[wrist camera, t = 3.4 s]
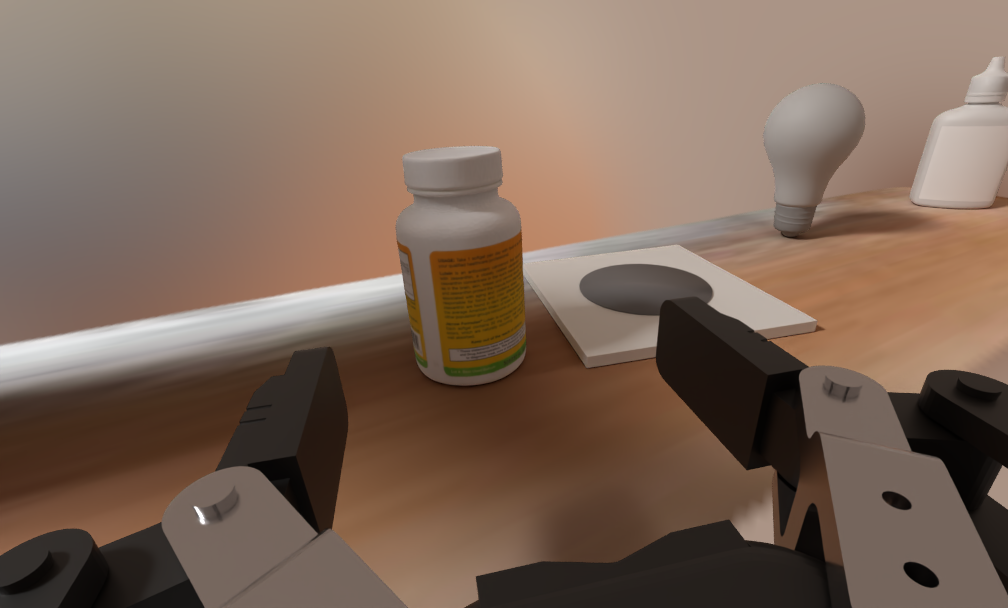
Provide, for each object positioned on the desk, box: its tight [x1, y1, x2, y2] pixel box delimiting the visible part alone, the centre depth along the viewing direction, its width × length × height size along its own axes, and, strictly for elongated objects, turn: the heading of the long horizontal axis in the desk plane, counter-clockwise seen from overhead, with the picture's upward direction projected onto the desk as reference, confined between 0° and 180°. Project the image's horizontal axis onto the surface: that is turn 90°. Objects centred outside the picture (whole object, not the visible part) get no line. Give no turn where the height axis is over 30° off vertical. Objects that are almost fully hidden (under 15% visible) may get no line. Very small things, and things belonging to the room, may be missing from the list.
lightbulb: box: [763, 83, 865, 237], centre depth 35 cm, size 6×6×11 cm
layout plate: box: [523, 245, 817, 368], centre depth 28 cm, size 12×13×1 cm
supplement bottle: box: [396, 146, 526, 386], centre depth 21 cm, size 5×5×10 cm
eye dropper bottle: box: [909, 57, 1008, 209], centre depth 40 cm, size 4×6×12 cm
